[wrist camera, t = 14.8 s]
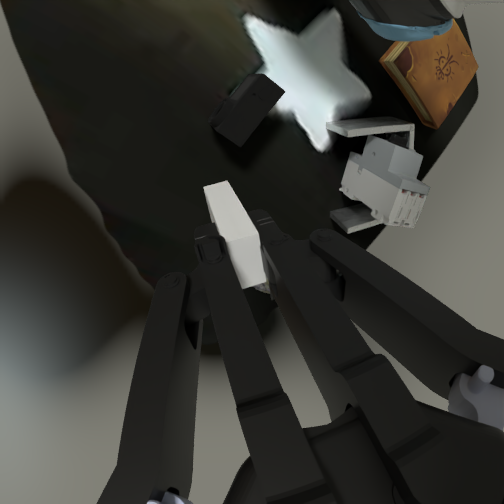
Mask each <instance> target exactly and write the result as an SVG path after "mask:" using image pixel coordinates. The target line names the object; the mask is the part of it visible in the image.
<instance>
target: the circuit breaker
mask: <svg viewBox="0 0 504 504" xmlns="http://www.w3.org/2000/svg"><path fill="white" fill-rule="evenodd" d="M407 142H408V139H405V138H403V137H400V136H398V135H395V134H393V133H392V135H391V138H390V140H388V141H387V140H384V139H381V138H378V137H375V136H372V135H368V138H367V141H366V144H365V148H364V151H363V154H359V153H355V152H350V156H349V159H348V162H347V166H346V169H345V173H344V176H343V179H342V183H341V184H342V188H340V189H339V190H340V191H342V192H343V193H344V194H345V195H346V196H348V197H349V198H350V199H352V200H358V201H362V202H363V203H364V204H366V205H367V206H368V207H370V208H371V209H372V212H371V215H372V216H373V217H374V218H376V219H377V220H378V221H380V222H383V223H385V225H391V226H402V227H408V228H415V227H414V224H415V223H417V220H418V218H419V215H420V213H421V211H422V208H423V205H424V203H425V200H426V197H427V194H428V192H429V190H430V187H429V186H427V185H426V184H424V183H422V182H421V181H419V180H417V179H416V177H417V174H418V171H419V168H420V165H421V162H422V159H423V156H422V155H420V154H418V153H416V152H415V151H416V150H413V149H411V148H409V147H407V146H406V145H407Z"/></svg>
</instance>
